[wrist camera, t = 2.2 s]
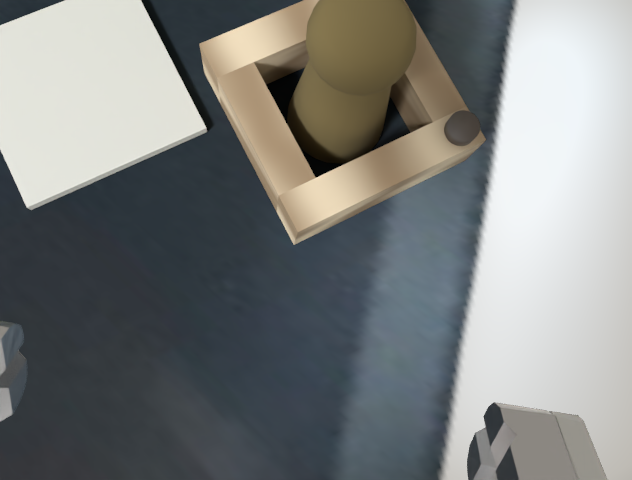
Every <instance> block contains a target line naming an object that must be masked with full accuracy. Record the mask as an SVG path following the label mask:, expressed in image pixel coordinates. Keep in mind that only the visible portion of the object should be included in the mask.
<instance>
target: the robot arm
mask: <svg viewBox="0 0 632 480" xmlns="http://www.w3.org/2000/svg"><path fill="white" fill-rule="evenodd" d="M23 342H24V337H23V331H22V326H20V325H18V324H16V323H11V322H6V321H0V421H2V420H3V419H5V418H7V417H9V416H10V415H12V414H13V412H14V411H15V409H16V407H17V405H18V404H19V402H20V400H21V397H22V394H23V391H24V388H25V385H26V381H27V371H28V370H27V360H26V359H25V358H24V357H23V356H22V354H21V353H20V352H19V351H18V349H19V348H20V346H21V345H22V343H23ZM484 421H485V425H486V427H485V428H484V429H482V430H480V431H478V432H476V433H475V435H474V437H473V440H472V442H471V444H470V447H469V454H468V459H467V469H468V470H467V471H468V479H469V480H607V478H606V475H605V473H604V470H603V468H602V465H601V463H600V461H599V458H598V456H597V453H596V451H595V449H594V446H593V443H592V441H591V438H590V436H589V433H588V431H587V429H586V426H585V423H584V421H583V420H582V419H581V418H580V417H579V416H578V415H571V414H565V413H558V412H552V411H549V412H548V411H546V410H540V409H533V408H526V407H520V406H514V405H507V404H501V403H493V404H491V405H490V406H489V407H488V409H487V411H486V413H485V415H484Z"/></svg>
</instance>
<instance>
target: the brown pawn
mask: <svg viewBox="0 0 632 480" xmlns="http://www.w3.org/2000/svg"><path fill="white" fill-rule="evenodd" d="M416 34H417V27H416V24H415V21H414V17H413V14H412V12H411V10H410V9H409V8H408V6H407V5H406V3H405V2H404V1H403V0H319V1H318V2H317V4H316V5H315V7H314V9H313V11H312V13H311V15H310V18H309V20H308V22H307V32H306V48H307V51H308V55H309V61H308V63H307V65H306V67H305V69H304V71H303V74H302V76H301V78H300V80H299V82H298V85H297V87H296V89H295V91H294V93H293V96H292V98H291V100H290V103H289V105H288V115H287V121H288V125H289V129H290V131H291V133H292V134H293V136H294V138H295V140H296V142H297V144H298V146H299V147H300V148H301V149H302V150H304V151H305V152H306V153H307V154H309V155H310V156H311V157H313V158H316V159H318V160H321V161H323V162H326V163H338V164H343V163H347V162H350V161H352V160H354V159H357V158H359V157H361V156H363V155H365V154H367V153H369V152H370V151H371V150H372V148H373V147H374V146H375V145H376V144H377V143H378V141H379V138H380V136H381V133H382V130H383V127H384V122H385V117H386V112H387V106H388V101H389V96H390V91H391V86H392V85H393V84H394V83H396V82H397V81H398V80H399V79H400V78H401V76H402V75H403V74H404V73H405V72H406V71H407V69H408V67H409V66H410V64H411V61H412V58H413V56H414V53H415V51H416Z"/></svg>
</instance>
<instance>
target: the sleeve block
mask: <svg viewBox="0 0 632 480" xmlns="http://www.w3.org/2000/svg"><path fill="white" fill-rule="evenodd" d="M318 1H319V0H304V1H301V2H299V3H297V4H294V5H292V6H289V7H287V8H285V9H282V10H280V11H277V12H275V13H272V14H270V15H268V16H265V17H263V18H260V19H258V20H256V21H253V22H251V23H248V24H246V25H244V26H241V27H239V28H236V29H234V30H232V31H229V32H227V33H224V34H222V35H220V36H217V37H215V38H212V39H210V40H207V41H205V42H203V43H200V44H199V45H200V50H201V56H202V61H203V67H204V72H205V75H206V77H207V79H208V81H209V83H210V85H211V86H212V88H213V90H214V92H215V94H216V96H217V98H218V100H219V102H220V104H221V106H222V108H223V110H224V111H225V113H226V115H227V117H228V119H229V121H230V123H231V125H232V127H233V129H234V131H235V133H236V135H237V136H238V138H239V140H240V142H241V144H242V146H243V148H244V150H245V152H246V154H247V156H248V158H249V159H250V161H251V163H252V165H253V167H254V169H255V171H256V173H257V175H258V177H259V179H260V181H261V183H262V184H263V186H264V188H265V190H266V192H267V194H268V196H269V198H270V200H271V202H272V204H273V206H274V208H275V209H276V211H277V213H278V215H279V217H280V219H281V221H282V223H283V225H284V227H285V229H286V231H287V233H288V234H289V236H290V238H291V240H292V242H293V244H294V245H295V244H297V243H299V242H301V241H303V240H305V239H307V238H309V237H311V236H313V235H315V234H317V233H319V232H321V231H323V230H325V229H327V228H329V227H331V226H333V225H335V224H337V223H339V222H342V221H344V220H346V219H348V218H350V217H352V216H354V215H356V214H358V213H360V212H362V211H364V210H366V209H368V208H370V207H372V206H374V205H376V204H378V203H380V202H382V201H384V200H386V199H388V198H390V197H392V196H394V195H396V194H398V193H400V192H402V191H404V190H406V189H408V188H410V187H412V186H414V185H416V184H418V183H421V182H423V181H425V180H427V179H429V178H431V177H433V176H435V175H437V174H439V173H441V172H443V171H445V170H447V169H449V168H451V167H453V166H455V165H457V164H459V163H461V162H463V161H465V160H466V159H467V158H468V157H469V156H470V155H471V154H472V153H473V152H474V151H475V150H476V149H478V148H479V147H480V146H481V145H482V144H483V143H484V142H485V141H486V139H485V137H484V135H483V134H482V132H481V130H480V122H479V120H478V118H477V117H476V116H475V115H474V114H473V113H471V112H470V111H469V110H468V108H467V106H466V104H465V103H464V101H463V99H462V98H461V96H460V94H459V92H458V91H457V89H456V87H455V86H454V84H453V82H452V81H451V79H450V77H449V75H448V74H447V72H446V70H445V69H444V67H443V65H442V63H441V62H440V60H439V58H438V57H437V55H436V53H435V51H434V50H433V48H432V46H431V45H430V43H429V41H428V39H427V38H426V36H425V34H424V33H423V31H422V29H421V27H420V26H419V24H418V22H417V21H416V19H415V17H414V16H413V17H414V21H415V24H416V27H417V34H416V51H415V53H414V56H413V58H412V61H411V64H410V66H409V67H408V69H407V71H406V72H405V73H404V74H403V75H402V76H401V78H400V79H399V80H398V81H397V82H396V83H394V84H393V85H392V86H391V91H390V97H391V99H392V101H393V102H394V104H395V106H396V108H397V110H398V111H399V113H400V115H401V117H402V118H403V120H404V122H405V124H406V125H407V127H408V129H409V131H410V132H411V133H409V134H407V135H405V136H403V137H401V138H399V139H397V140H394V141H392V142H390V143H388V144H386V145H384V146H382V147H380V148H378V149H375V150H373V151H371V152H369V153H367V154H365V155H363V156H361V157H359V158H357V159H354V160H352V161H350V162H348V163H346V164H344V165H342V166H340V167H338V168H335V169H333V170H331V171H329V172H327V173H325V174H323V175H321V176H319V177H317V178H316V177H315V176H314V174H313V172H312V170H311V168H310V166H309V164H308V163H307V161H306V159H305V157H304V155H303V153H302V151H301V149H300V148H299V146H298V144H297V142H296V140H295V138H294V136H293V134H292V133H291V131H290V129H289V127H288V125H287V123H286V121H285V120H284V118H283V116H282V114H281V112H280V110H279V108H278V106H277V105H276V103H275V101H274V99H273V97H272V95H271V93H270V91H269V90H268V88H267V86H266V84H268V83H271V82H273V81H275V80H278V79H280V78H282V77H284V76H287V75H289V74H291V73H294V72H296V71H298V70H300V69H303V68H305V67H306V65H307V63H308V61H309V55H308V51H307V48H306V32H307V22H308V20H309V18H310V15H311V13H312V11H313V9H314V7H315V5H316V4H317V2H318ZM403 1H404V2H405V0H403ZM405 3H406V2H405ZM406 5H407V4H406ZM407 6H408V5H407ZM408 8H409V7H408Z"/></svg>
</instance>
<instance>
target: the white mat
mask: <svg viewBox="0 0 632 480" xmlns="http://www.w3.org/2000/svg"><path fill="white" fill-rule="evenodd" d="M206 132H207V128H206V126H205V124H204V122H203V120H202V118H201V116H200V114H199V113H198V111H197V109H196V107H195V105H194V103H193V101H192V99H191V97H190V95H189V93H188V91H187V89H186V87H185V85H184V83H183V81H182V79H181V77H180V76H179V74H178V72H177V70H176V68H175V66H174V64H173V62H172V60H171V58H170V56H169V54H168V52H167V50H166V48H165V46H164V44H163V42H162V40H161V38H160V37H159V35H158V33H157V31H156V29H155V27H154V25H153V23H152V21H151V19H150V17H149V15H148V13H147V11H146V9H145V7H144V5H143V3H142V1H141V0H65V1H62V2H60V3H57V4H55V5H52V6H49V7H47V8H44V9H42V10H39V11H36V12H34V13H31V14H29V15H26V16H23V17H21V18H18V19H16V20H13V21H10V22H8V23H5V24H3V25H0V150H1V152H2V154H3V156H4V158H5V161H6V163H7V165H8V167H9V169H10V172H11V174H12V176H13V178H14V180H15V183H16V185H17V187H18V189H19V191H20V193H21V196H22V198H23V200H24V202H25V204H26V207H27V208H28V209H30V210H32V209H35V208H37V207H39V206H41V205H44V204H46V203H48V202H50V201H53V200H55V199H57V198H59V197H62V196H64V195H66V194H68V193H71V192H73V191H75V190H77V189H80V188H82V187H84V186H86V185H89V184H91V183H93V182H95V181H98V180H100V179H102V178H105V177H107V176H109V175H111V174H114V173H116V172H118V171H120V170H123V169H125V168H127V167H129V166H132V165H134V164H136V163H138V162H141V161H143V160H145V159H147V158H150V157H152V156H154V155H156V154H159V153H161V152H163V151H165V150H168V149H170V148H172V147H174V146H177V145H179V144H181V143H183V142H186V141H188V140H190V139H192V138H195V137H197V136H199V135H201V134H204V133H206Z"/></svg>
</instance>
